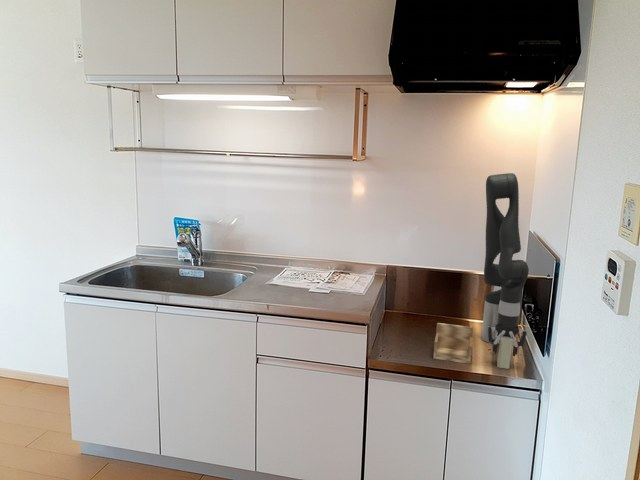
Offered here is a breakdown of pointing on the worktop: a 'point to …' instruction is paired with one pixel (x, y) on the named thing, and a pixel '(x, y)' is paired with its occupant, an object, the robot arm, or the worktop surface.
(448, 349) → the caddy
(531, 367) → the worktop surface
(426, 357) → the worktop surface
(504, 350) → the skincare box
